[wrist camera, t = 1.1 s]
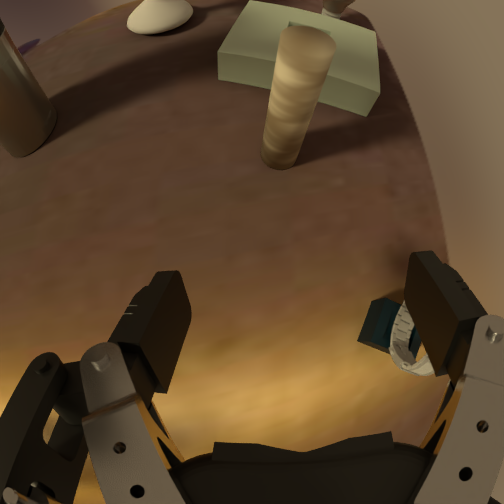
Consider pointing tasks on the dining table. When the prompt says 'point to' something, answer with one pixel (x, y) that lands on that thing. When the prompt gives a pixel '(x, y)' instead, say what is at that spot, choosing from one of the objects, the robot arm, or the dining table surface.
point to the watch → (395, 335)
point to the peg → (294, 92)
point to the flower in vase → (159, 16)
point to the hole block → (266, 46)
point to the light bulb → (335, 7)
